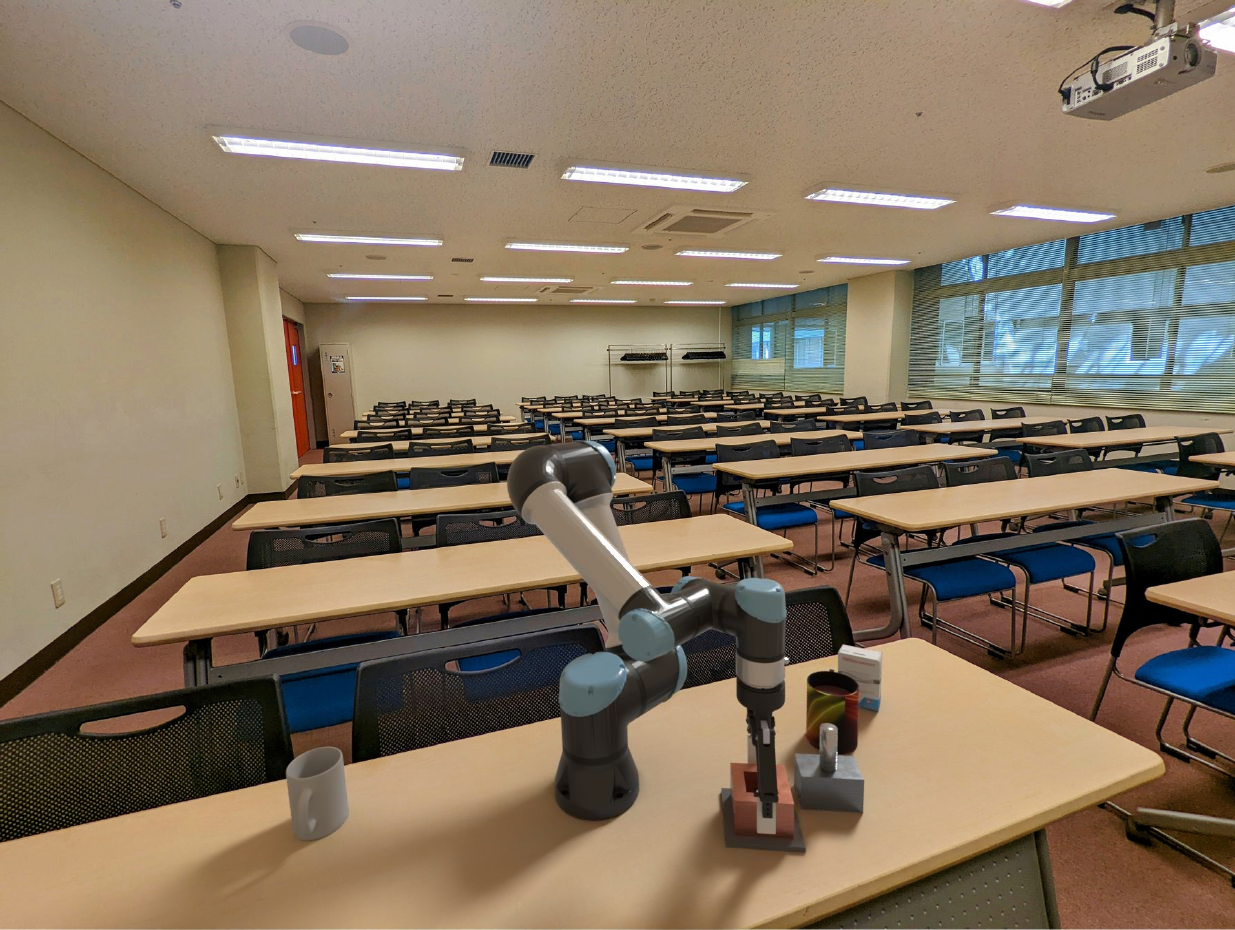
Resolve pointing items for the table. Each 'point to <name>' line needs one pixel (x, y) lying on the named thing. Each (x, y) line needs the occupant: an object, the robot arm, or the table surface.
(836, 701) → the mug
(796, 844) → the mat
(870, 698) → the ink box
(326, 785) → the mug
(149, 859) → the table surface
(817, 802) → the toggle switch
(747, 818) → the red square hollow block
